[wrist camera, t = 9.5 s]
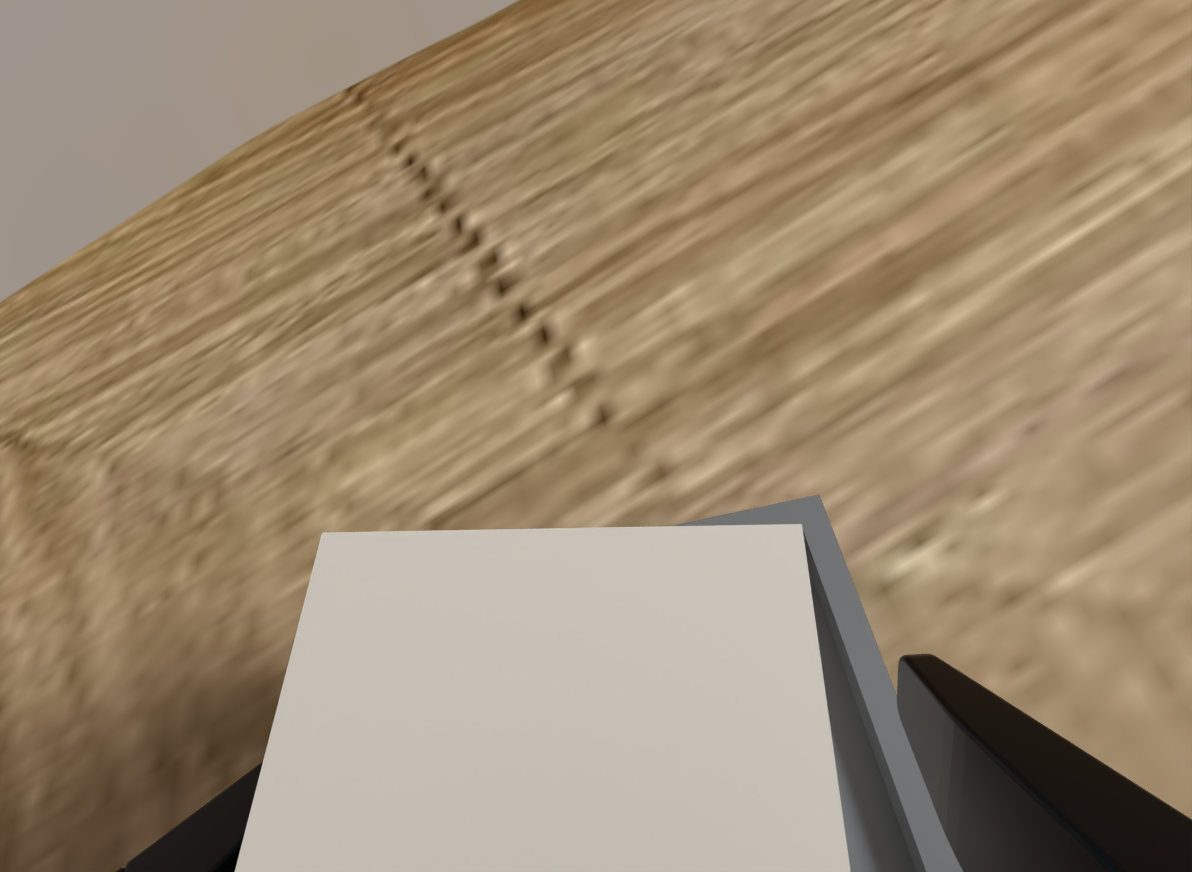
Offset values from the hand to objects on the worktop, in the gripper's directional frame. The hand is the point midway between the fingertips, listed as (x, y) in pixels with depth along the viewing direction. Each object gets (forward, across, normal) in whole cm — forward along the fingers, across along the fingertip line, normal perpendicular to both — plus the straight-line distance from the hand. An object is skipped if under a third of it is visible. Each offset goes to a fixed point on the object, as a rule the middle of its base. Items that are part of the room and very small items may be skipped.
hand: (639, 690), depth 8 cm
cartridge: (+5, 0, +7) cm, 8 cm away
